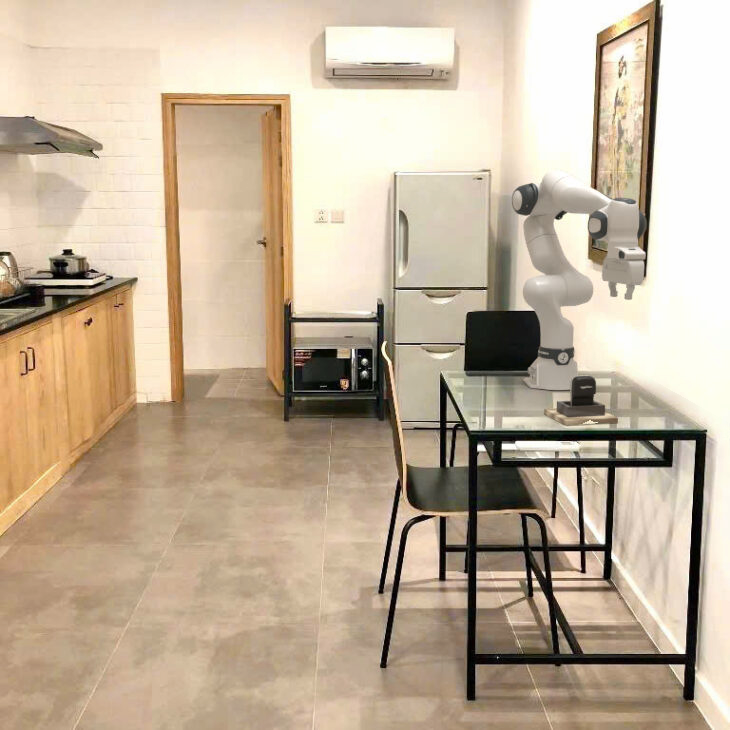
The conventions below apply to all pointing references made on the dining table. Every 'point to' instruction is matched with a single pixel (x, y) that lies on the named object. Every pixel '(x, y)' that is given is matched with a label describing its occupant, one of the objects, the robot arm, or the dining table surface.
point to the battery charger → (582, 390)
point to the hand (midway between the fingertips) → (620, 298)
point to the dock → (580, 413)
